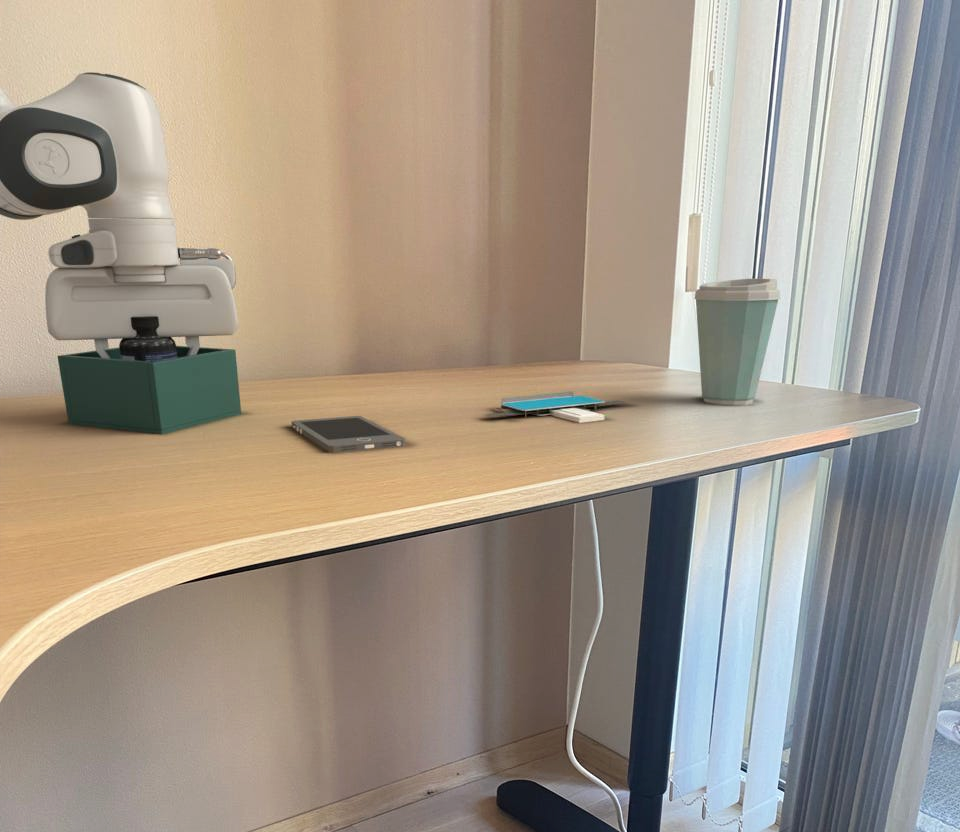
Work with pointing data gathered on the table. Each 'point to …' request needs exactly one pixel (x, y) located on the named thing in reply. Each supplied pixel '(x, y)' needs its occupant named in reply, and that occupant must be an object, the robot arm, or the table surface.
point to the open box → (150, 390)
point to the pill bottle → (147, 342)
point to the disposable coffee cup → (734, 337)
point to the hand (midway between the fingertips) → (152, 379)
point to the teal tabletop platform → (554, 406)
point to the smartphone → (347, 434)
